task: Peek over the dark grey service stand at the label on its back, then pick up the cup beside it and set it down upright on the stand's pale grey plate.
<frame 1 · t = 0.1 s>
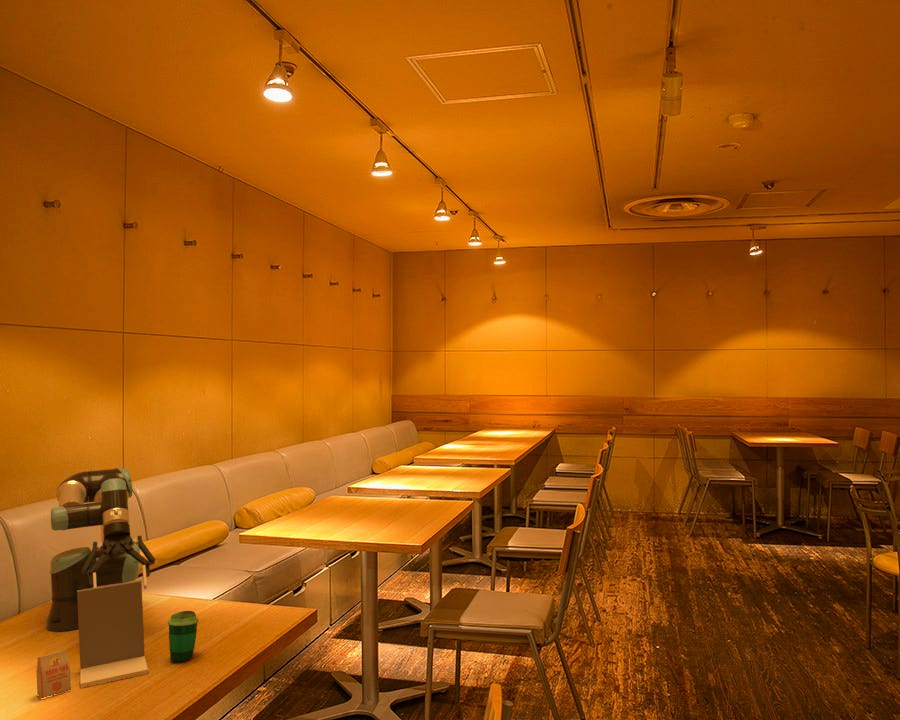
hand: (120, 591, 217), 15 cm above the table, tool tilted 35°, fingers open, 13 cm apart
cup: (184, 658, 204), on the table
tea bag: (54, 693, 185), on the table
service stand: (114, 672, 196), on the table
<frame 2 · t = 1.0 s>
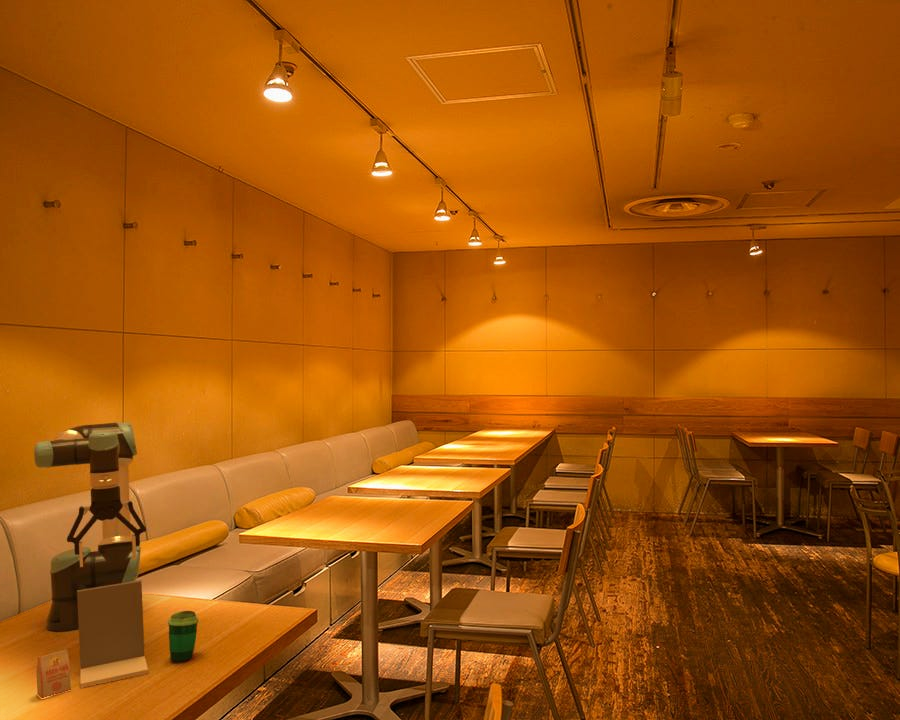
hand: (108, 562, 206), 27 cm above the table, tool pointing down, fingers open, 13 cm apart
nothing on the table moved.
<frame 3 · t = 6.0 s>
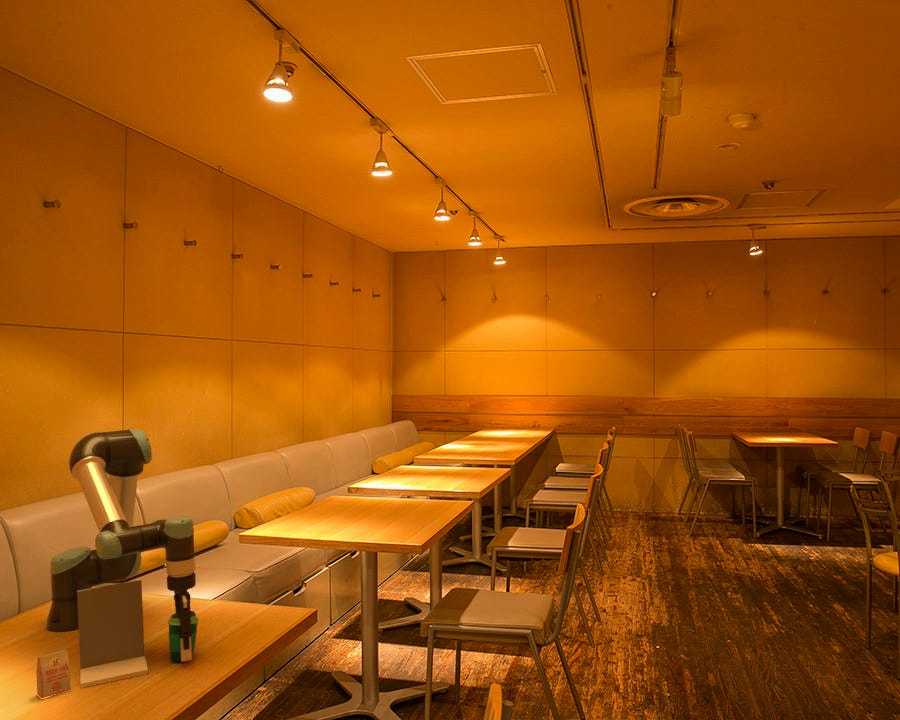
hand: (184, 655, 204), 1 cm above the table, tool pointing down, fingers closed on cup, 7 cm apart
cup: (184, 658, 204), on the table, touching gripper
everything else where it was.
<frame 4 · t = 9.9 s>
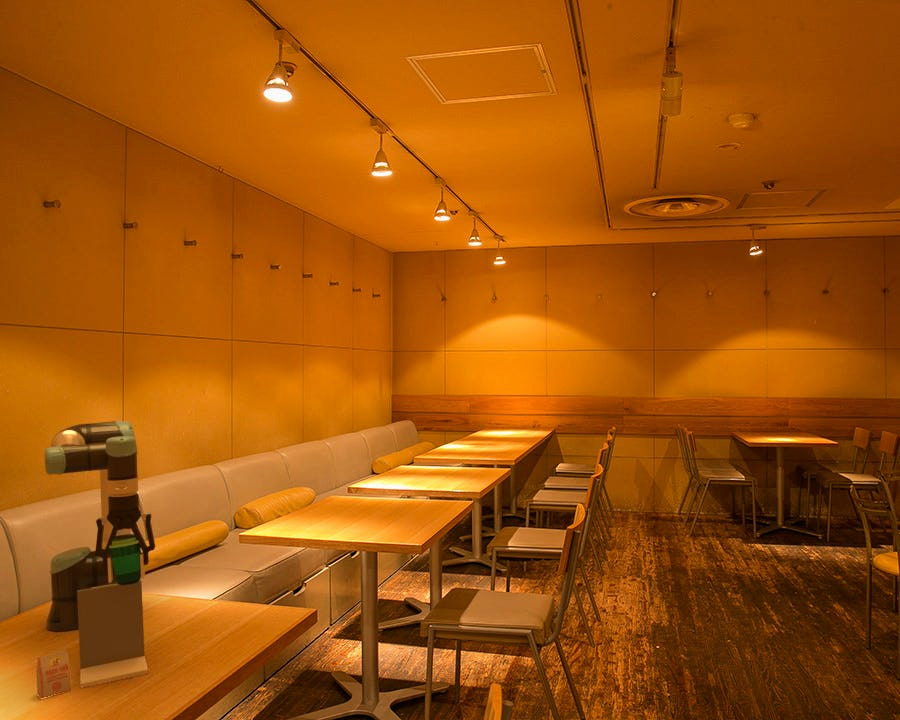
hand: (126, 578, 196), 25 cm above the table, tool pointing down, fingers closed on cup, 7 cm apart
cup: (126, 582, 197), point 24 cm above the table, touching gripper
everything else where it was.
when the fingers open (3 cm above the table, at t = 13.7 s): cup drops 1 cm, resting on service stand.
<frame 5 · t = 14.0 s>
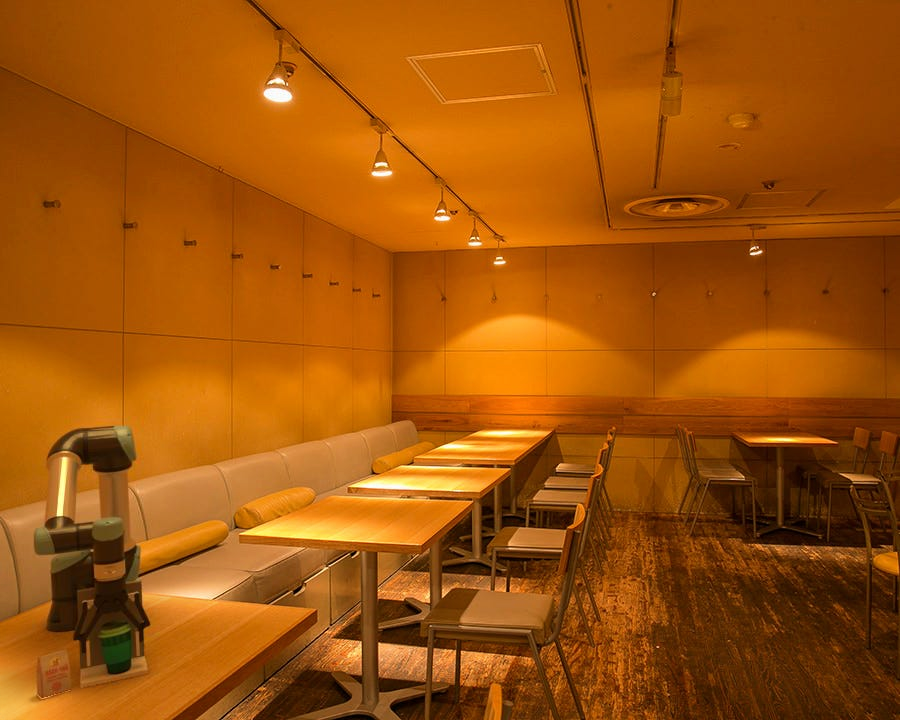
hand: (113, 659, 194), 4 cm above the table, tool pointing down, fingers open, 11 cm apart
cup: (116, 670, 195), point 1 cm above the table, touching service stand
everything else where it was.
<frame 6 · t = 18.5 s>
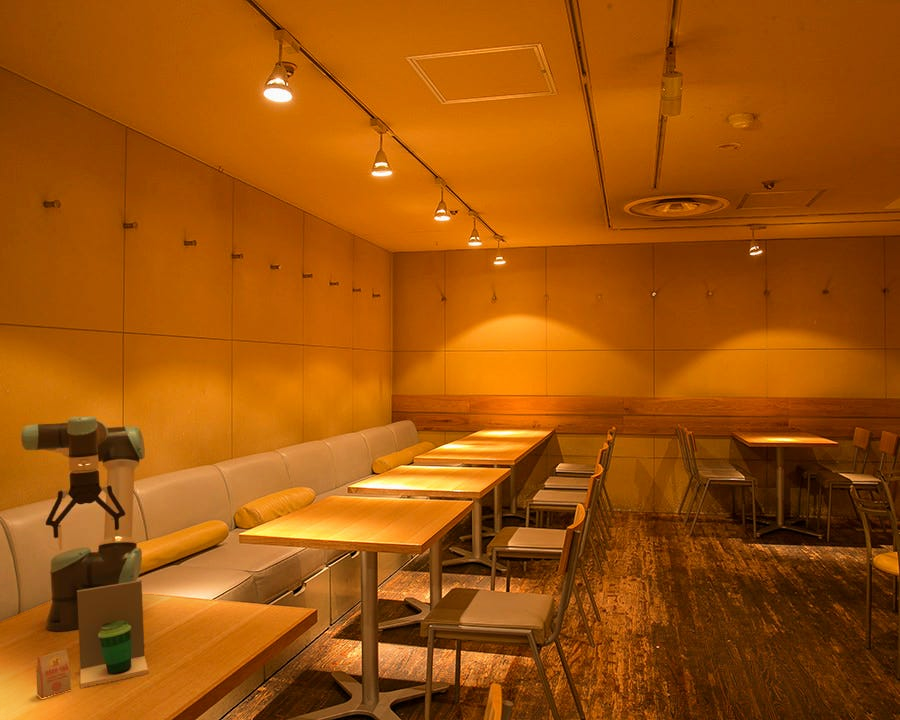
hand: (87, 545, 208), 32 cm above the table, tool pointing down, fingers open, 13 cm apart
nothing on the table moved.
at the end: cup inside the target area on the service stand (1.5 cm from its centre), point 1.0 cm above the service stand's base; cup tilted 0°; the gripper is holding nothing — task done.
